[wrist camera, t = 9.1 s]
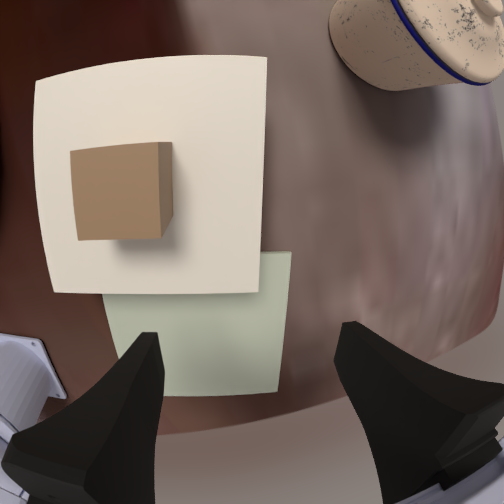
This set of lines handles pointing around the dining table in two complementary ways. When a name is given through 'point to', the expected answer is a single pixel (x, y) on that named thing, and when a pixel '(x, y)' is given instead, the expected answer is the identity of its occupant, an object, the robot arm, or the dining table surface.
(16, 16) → the dining table surface
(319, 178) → the dining table surface
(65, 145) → the cover plate
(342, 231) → the dining table surface
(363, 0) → the teacup with lid
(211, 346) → the mat
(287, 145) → the dining table surface
